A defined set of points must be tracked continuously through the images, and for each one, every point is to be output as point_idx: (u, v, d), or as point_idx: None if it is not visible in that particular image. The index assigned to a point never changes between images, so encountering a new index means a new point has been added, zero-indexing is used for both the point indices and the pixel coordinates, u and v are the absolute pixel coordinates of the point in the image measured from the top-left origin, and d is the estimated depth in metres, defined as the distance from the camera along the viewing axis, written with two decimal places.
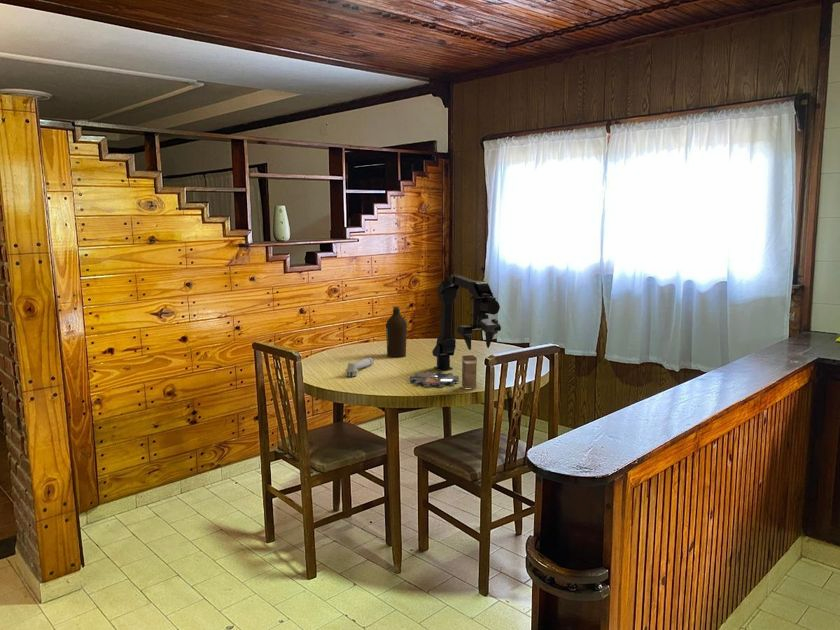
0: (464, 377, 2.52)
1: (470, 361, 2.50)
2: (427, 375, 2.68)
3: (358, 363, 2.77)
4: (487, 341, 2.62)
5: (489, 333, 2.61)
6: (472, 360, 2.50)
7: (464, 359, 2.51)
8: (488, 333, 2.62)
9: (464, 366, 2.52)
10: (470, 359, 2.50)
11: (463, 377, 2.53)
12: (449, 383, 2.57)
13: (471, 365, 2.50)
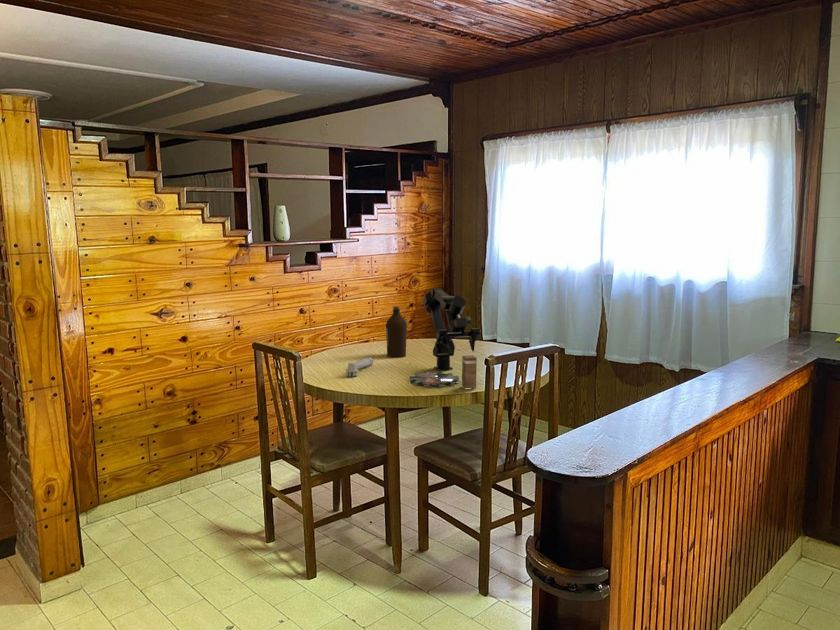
0: (464, 377, 2.52)
1: (470, 361, 2.50)
2: (427, 375, 2.68)
3: (358, 363, 2.77)
4: (471, 346, 2.62)
5: (471, 338, 2.64)
6: (472, 360, 2.50)
7: (464, 359, 2.51)
8: (470, 339, 2.64)
9: (464, 366, 2.52)
10: (470, 359, 2.50)
11: (463, 377, 2.53)
12: (449, 383, 2.57)
13: (471, 365, 2.50)
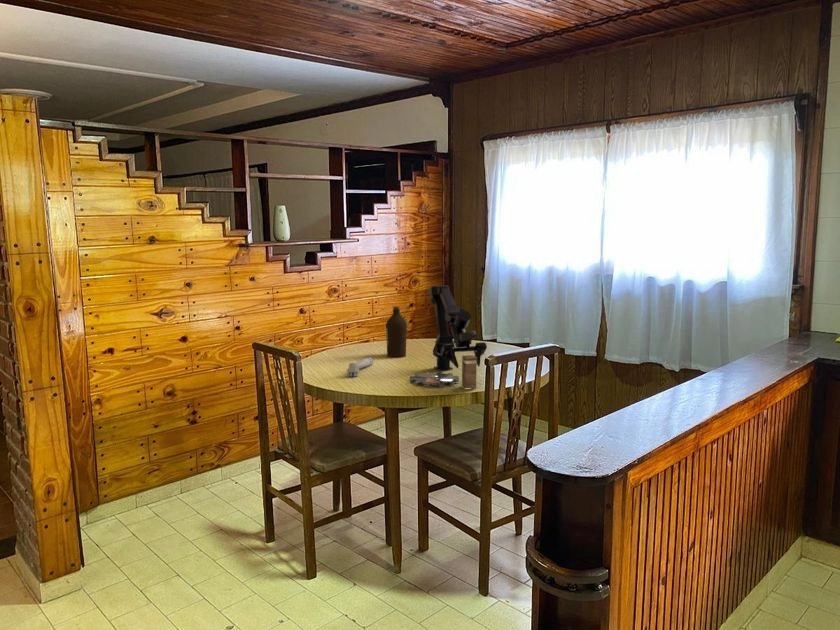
0: (464, 377, 2.52)
1: (470, 361, 2.50)
2: (427, 375, 2.68)
3: (359, 363, 2.77)
4: (477, 361, 2.57)
5: (476, 353, 2.58)
6: (472, 360, 2.50)
7: (464, 359, 2.51)
8: (476, 354, 2.59)
9: (464, 366, 2.52)
10: (470, 359, 2.50)
11: (463, 377, 2.53)
12: (449, 383, 2.57)
13: (471, 365, 2.50)
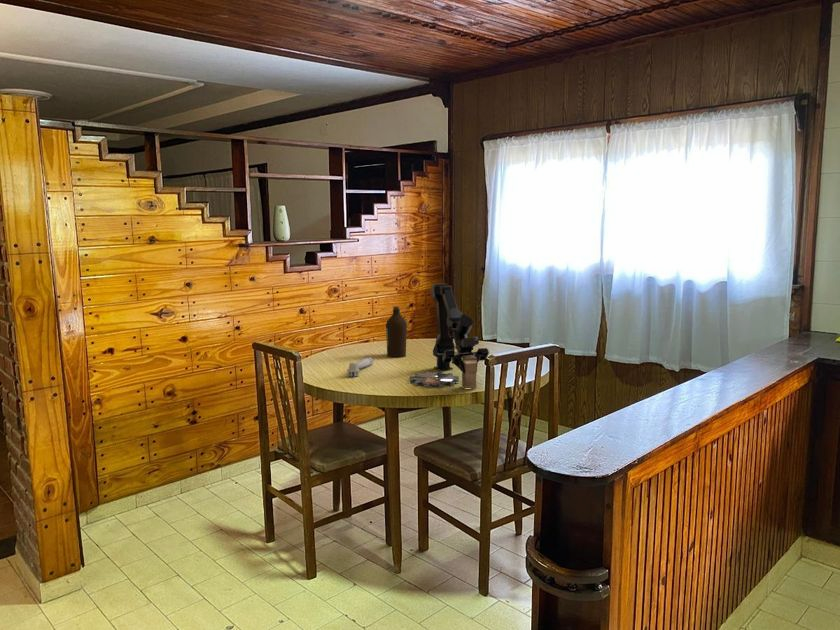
0: (464, 377, 2.52)
1: (470, 361, 2.50)
2: (427, 375, 2.68)
3: (359, 363, 2.77)
4: None
5: None
6: (472, 360, 2.50)
7: (464, 359, 2.51)
8: None
9: (464, 366, 2.52)
10: (470, 359, 2.50)
11: (463, 377, 2.53)
12: (449, 383, 2.57)
13: (471, 365, 2.50)
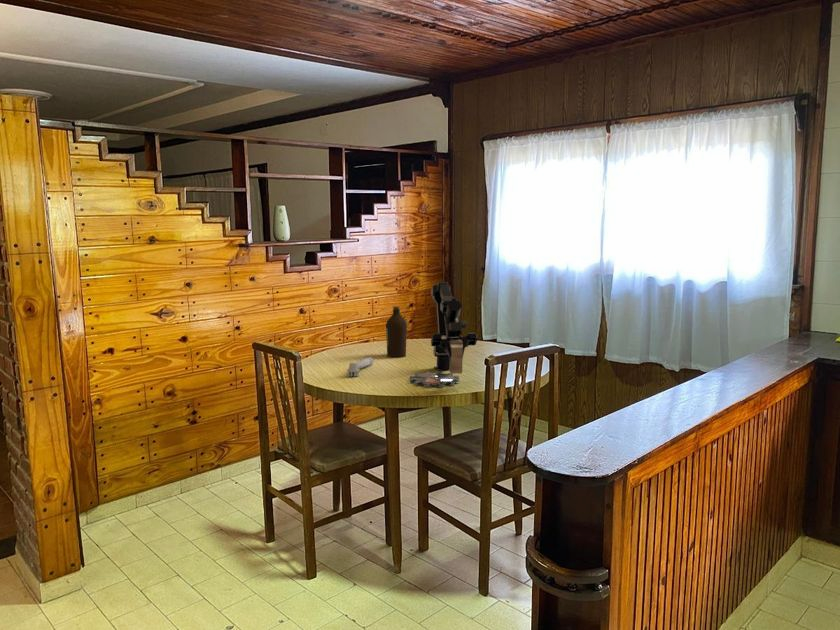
0: (450, 361, 2.52)
1: (455, 345, 2.50)
2: (427, 375, 2.68)
3: (359, 363, 2.77)
4: None
5: None
6: (458, 344, 2.50)
7: (450, 343, 2.52)
8: None
9: (450, 350, 2.52)
10: (456, 343, 2.50)
11: (450, 361, 2.54)
12: (449, 383, 2.57)
13: (457, 349, 2.50)
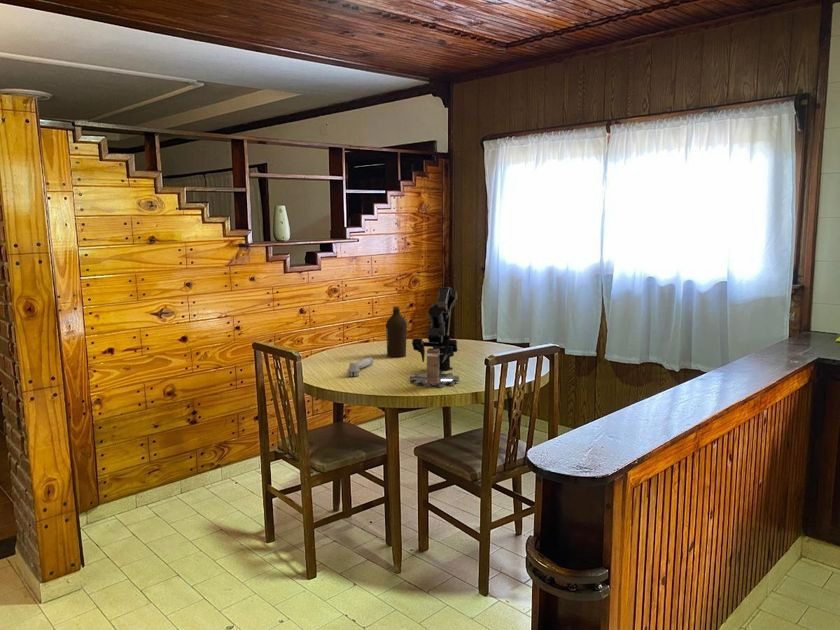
0: None
1: (431, 354, 2.55)
2: None
3: (359, 363, 2.77)
4: None
5: None
6: (433, 353, 2.55)
7: None
8: None
9: None
10: (431, 352, 2.55)
11: None
12: (449, 383, 2.57)
13: (432, 358, 2.55)
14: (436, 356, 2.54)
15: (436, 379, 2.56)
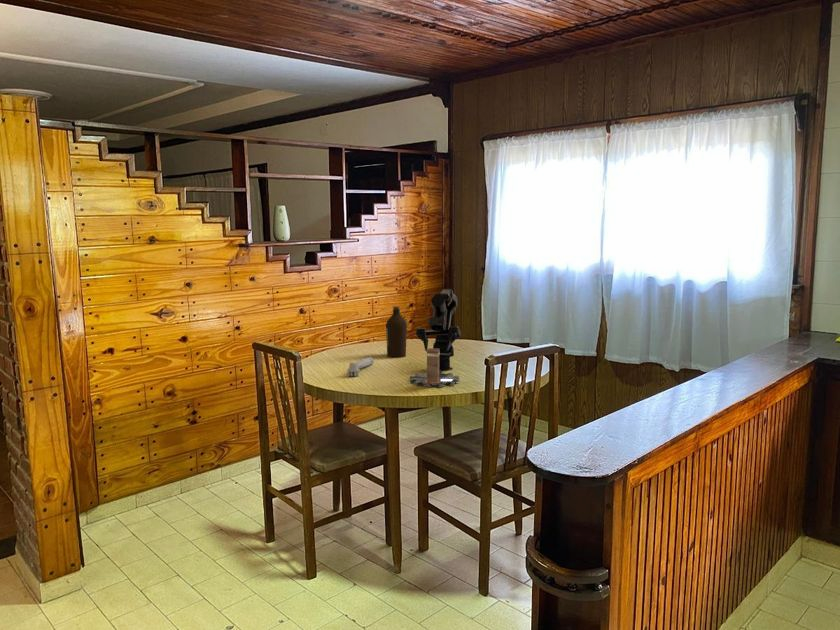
0: None
1: (431, 354, 2.55)
2: None
3: (359, 363, 2.78)
4: None
5: None
6: (433, 353, 2.55)
7: None
8: None
9: None
10: (431, 352, 2.55)
11: None
12: (449, 383, 2.57)
13: (432, 358, 2.55)
14: (436, 356, 2.54)
15: (436, 379, 2.56)
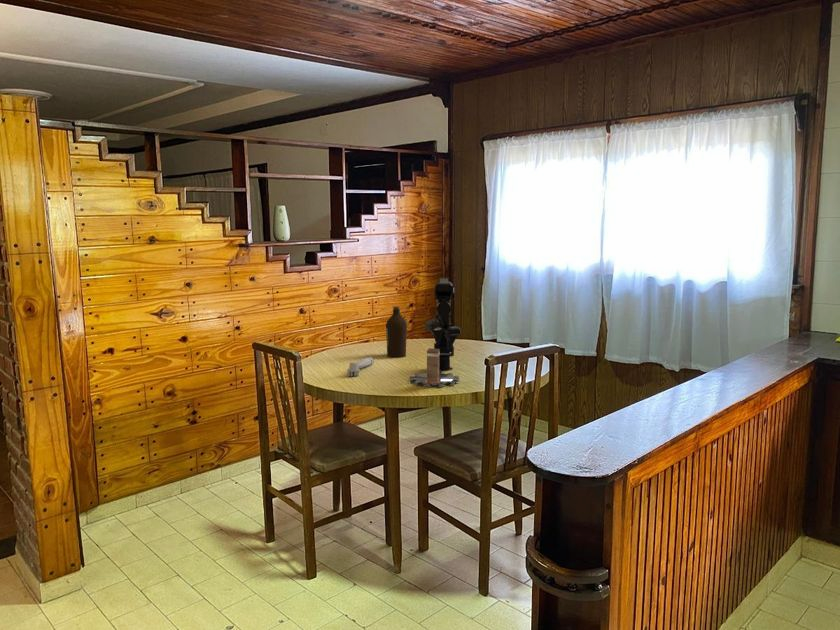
0: None
1: (431, 354, 2.55)
2: None
3: (359, 363, 2.78)
4: None
5: None
6: (433, 353, 2.55)
7: None
8: None
9: None
10: (431, 352, 2.55)
11: None
12: (449, 383, 2.57)
13: (432, 358, 2.55)
14: (436, 356, 2.54)
15: (436, 379, 2.56)
